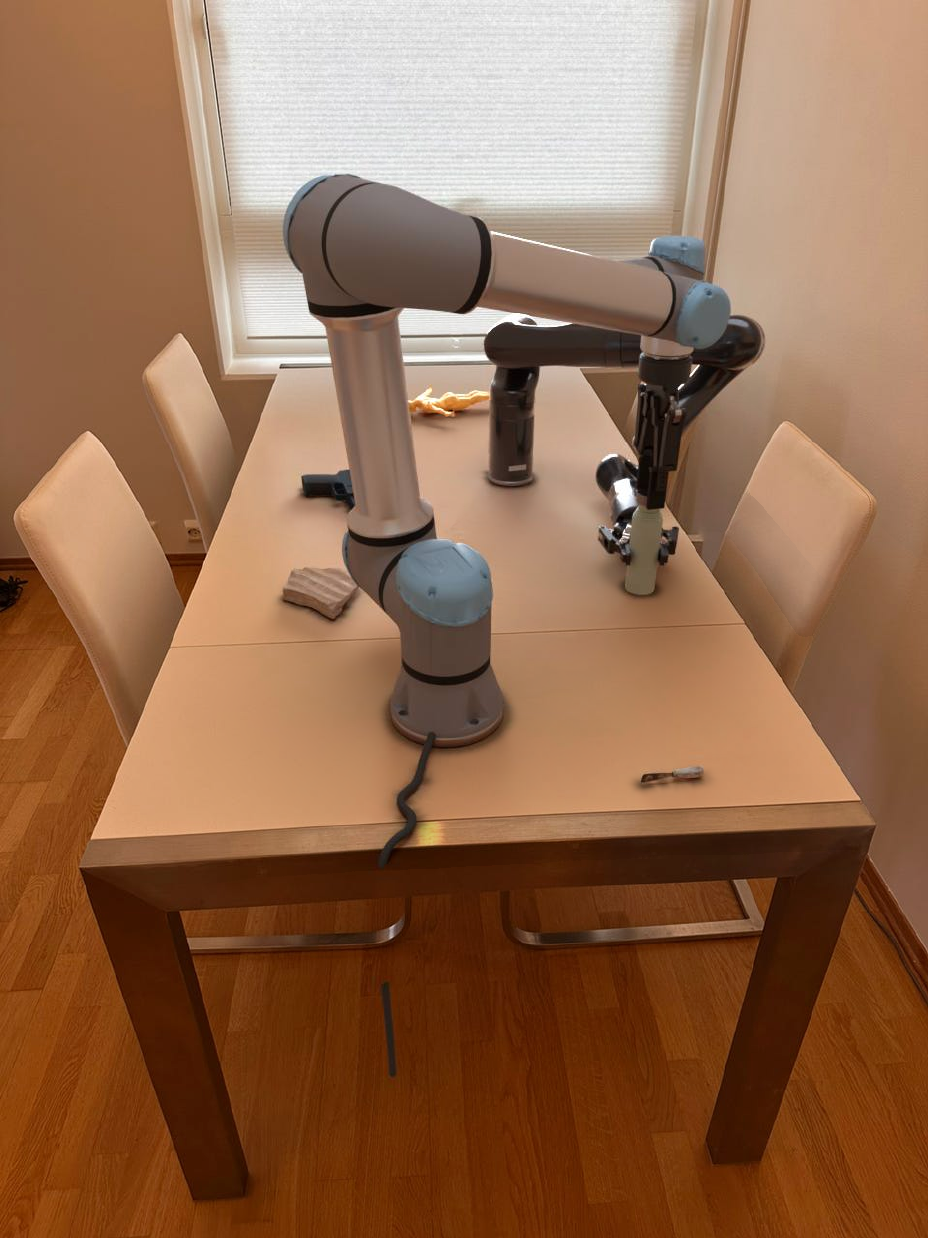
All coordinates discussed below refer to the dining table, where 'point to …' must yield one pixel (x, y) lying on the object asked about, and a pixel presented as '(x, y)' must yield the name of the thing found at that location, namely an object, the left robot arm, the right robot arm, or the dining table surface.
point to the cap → (642, 495)
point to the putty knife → (674, 774)
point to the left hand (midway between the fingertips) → (649, 501)
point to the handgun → (330, 486)
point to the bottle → (644, 550)
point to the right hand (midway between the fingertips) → (645, 560)
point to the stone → (320, 589)
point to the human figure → (446, 402)
